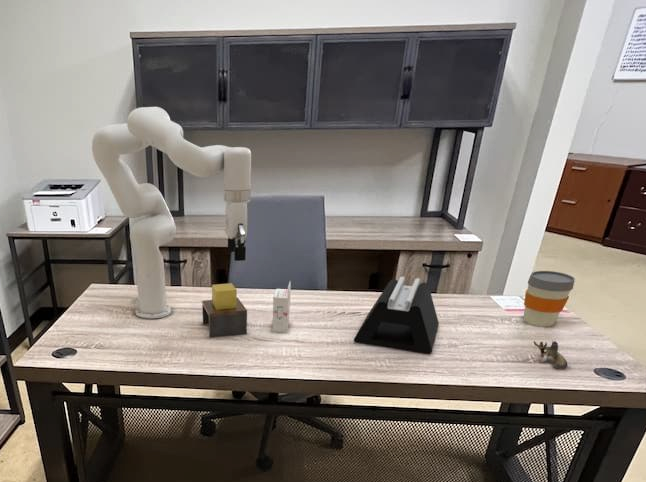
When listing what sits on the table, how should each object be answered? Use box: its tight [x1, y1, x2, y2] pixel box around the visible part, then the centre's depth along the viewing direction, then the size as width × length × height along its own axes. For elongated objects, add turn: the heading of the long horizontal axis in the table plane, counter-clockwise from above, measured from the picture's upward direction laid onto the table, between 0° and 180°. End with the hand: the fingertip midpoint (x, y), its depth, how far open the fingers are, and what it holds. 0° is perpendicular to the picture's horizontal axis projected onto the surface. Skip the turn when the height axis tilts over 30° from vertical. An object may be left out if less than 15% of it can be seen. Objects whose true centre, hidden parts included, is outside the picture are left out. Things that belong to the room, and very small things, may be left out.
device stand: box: [353, 276, 440, 355], centre depth 163 cm, size 22×22×15 cm
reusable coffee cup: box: [523, 270, 576, 328], centre depth 170 cm, size 13×13×15 cm
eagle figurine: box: [533, 339, 568, 370], centre depth 147 cm, size 8×7×9 cm
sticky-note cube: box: [211, 282, 238, 310], centre depth 167 cm, size 6×6×6 cm
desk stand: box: [201, 297, 248, 339], centre depth 171 cm, size 12×12×8 cm
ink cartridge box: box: [271, 280, 292, 333], centre depth 169 cm, size 9×5×15 cm, turn 168°
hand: (236, 255), depth 159 cm, fingers open, 9 cm apart
